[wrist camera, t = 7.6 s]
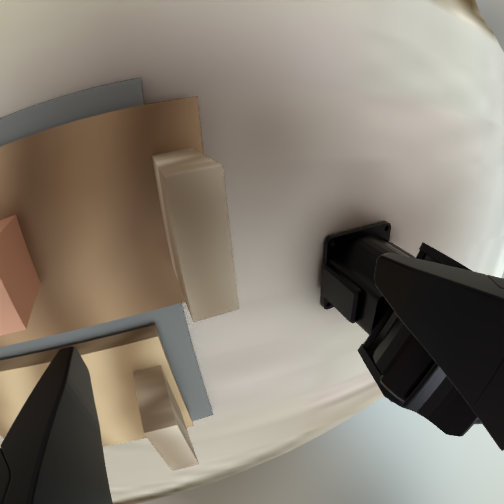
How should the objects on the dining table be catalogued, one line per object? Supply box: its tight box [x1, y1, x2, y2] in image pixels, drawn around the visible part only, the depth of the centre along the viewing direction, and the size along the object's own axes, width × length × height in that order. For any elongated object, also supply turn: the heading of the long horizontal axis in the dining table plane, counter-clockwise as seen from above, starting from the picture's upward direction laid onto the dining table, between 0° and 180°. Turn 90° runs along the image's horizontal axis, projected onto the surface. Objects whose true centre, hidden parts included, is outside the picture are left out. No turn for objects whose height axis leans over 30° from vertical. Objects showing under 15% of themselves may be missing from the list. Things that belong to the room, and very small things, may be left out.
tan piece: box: [0, 325, 199, 471], centre depth 17 cm, size 18×11×6 cm, turn 95°
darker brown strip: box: [0, 96, 239, 347], centre depth 12 cm, size 18×11×6 cm, turn 95°
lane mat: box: [0, 78, 213, 421], centre depth 17 cm, size 20×27×1 cm
